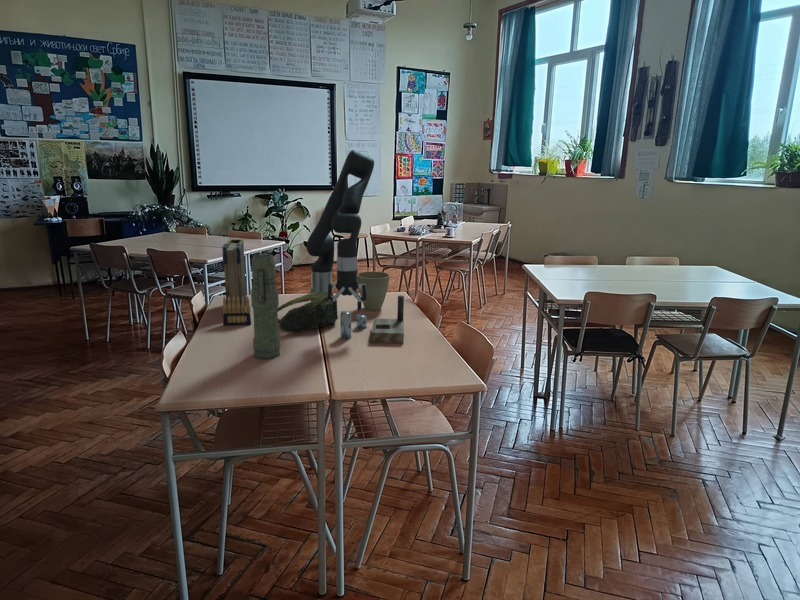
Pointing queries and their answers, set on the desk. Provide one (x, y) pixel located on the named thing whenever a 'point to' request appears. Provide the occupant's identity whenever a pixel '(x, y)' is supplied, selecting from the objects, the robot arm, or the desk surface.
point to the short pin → (361, 321)
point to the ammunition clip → (236, 315)
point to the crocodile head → (308, 313)
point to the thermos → (265, 307)
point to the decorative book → (234, 270)
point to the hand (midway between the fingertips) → (347, 310)
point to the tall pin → (345, 324)
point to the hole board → (389, 327)
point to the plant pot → (373, 288)
